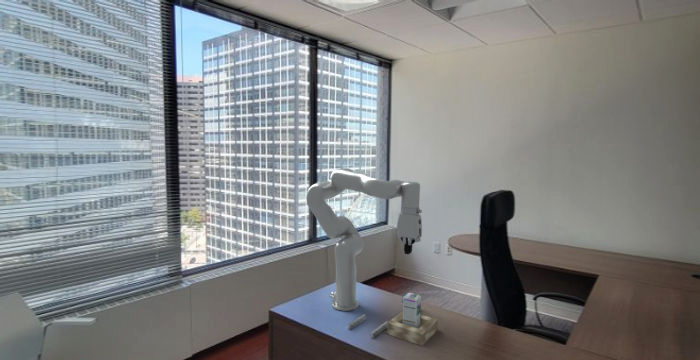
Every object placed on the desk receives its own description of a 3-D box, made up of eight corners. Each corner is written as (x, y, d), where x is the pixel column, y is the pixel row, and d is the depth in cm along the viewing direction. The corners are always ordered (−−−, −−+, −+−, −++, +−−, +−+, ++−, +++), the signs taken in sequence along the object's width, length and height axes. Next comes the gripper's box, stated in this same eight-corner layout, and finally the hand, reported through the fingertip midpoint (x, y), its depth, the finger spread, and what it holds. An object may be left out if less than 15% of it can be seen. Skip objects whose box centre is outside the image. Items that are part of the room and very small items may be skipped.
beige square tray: (386, 333, 148) (387, 322, 148) (404, 319, 160) (404, 309, 160) (422, 345, 139) (422, 334, 139) (437, 330, 152) (437, 319, 151)
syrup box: (416, 335, 146) (417, 299, 145) (401, 331, 149) (402, 296, 148) (420, 329, 151) (421, 294, 150) (406, 325, 154) (407, 291, 153)
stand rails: (347, 329, 151) (347, 324, 151) (363, 318, 161) (363, 314, 161) (372, 338, 144) (373, 333, 144) (388, 326, 154) (388, 321, 154)
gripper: (430, 212, 156) (427, 255, 158) (398, 207, 165) (396, 248, 167) (422, 214, 150) (420, 259, 152) (390, 209, 159) (388, 251, 161)
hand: (407, 253), depth 159 cm, fingers closed
